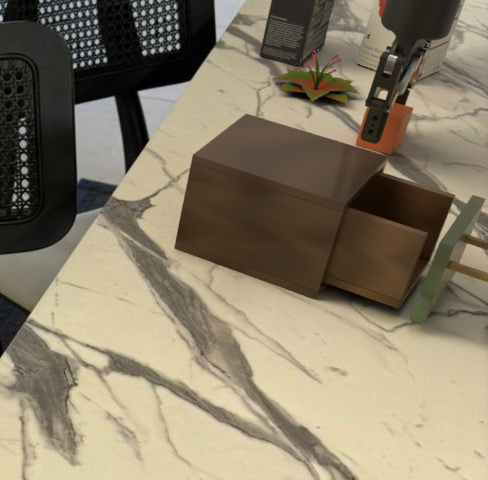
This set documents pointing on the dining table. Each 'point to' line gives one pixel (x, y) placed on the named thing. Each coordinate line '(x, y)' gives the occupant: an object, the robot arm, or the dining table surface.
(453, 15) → the robot arm
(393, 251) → the drawer
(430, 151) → the dining table surface
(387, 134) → the block
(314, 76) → the lily flower
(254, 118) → the cabinet
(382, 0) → the rectangular carton
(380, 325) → the dining table surface
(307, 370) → the dining table surface
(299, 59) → the small box
